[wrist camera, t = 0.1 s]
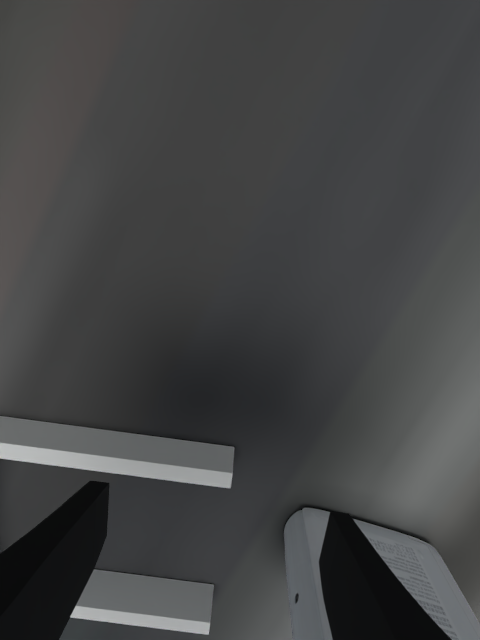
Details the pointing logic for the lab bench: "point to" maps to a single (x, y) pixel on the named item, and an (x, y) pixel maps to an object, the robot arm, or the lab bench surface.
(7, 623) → the robot arm
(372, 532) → the photo printer
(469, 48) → the lab bench surface
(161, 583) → the display stand
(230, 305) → the lab bench surface
